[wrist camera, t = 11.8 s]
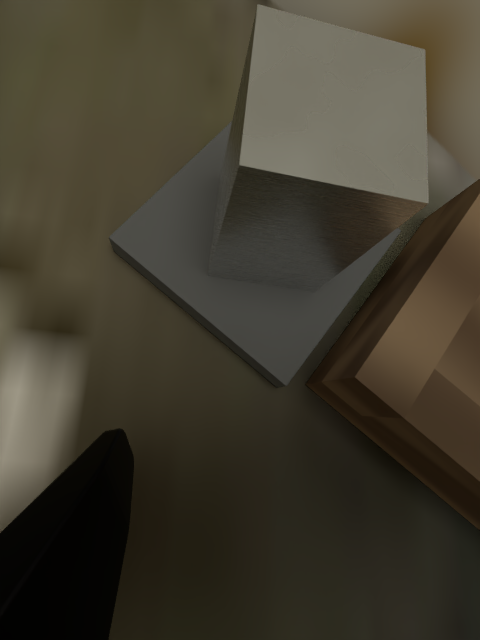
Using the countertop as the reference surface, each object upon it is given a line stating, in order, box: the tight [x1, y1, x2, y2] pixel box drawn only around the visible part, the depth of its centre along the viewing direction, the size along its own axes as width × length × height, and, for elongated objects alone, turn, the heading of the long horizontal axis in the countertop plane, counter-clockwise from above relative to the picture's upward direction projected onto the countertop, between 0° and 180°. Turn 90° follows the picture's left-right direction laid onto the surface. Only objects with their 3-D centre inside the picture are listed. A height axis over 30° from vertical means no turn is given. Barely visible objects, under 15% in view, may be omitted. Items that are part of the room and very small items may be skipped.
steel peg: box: [208, 5, 429, 292], centre depth 14 cm, size 5×5×8 cm
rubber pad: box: [109, 122, 401, 387], centre depth 18 cm, size 10×10×2 cm
